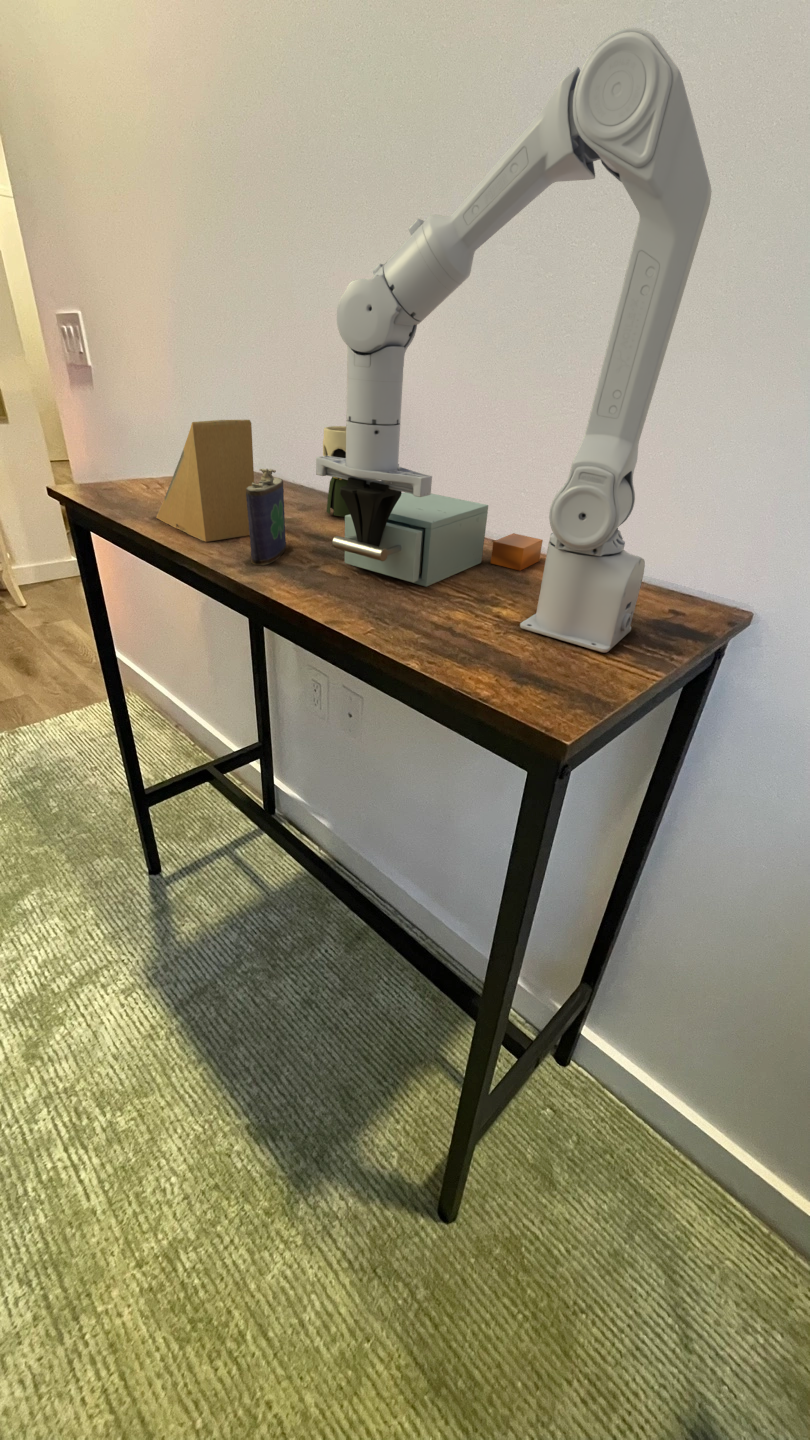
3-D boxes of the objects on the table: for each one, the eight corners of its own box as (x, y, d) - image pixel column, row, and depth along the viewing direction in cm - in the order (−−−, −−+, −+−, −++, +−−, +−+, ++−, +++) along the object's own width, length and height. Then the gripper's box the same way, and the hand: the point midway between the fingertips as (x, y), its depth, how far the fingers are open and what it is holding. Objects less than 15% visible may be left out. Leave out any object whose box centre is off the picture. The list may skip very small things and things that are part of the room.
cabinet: (426, 587, 76) (431, 522, 72) (351, 565, 81) (352, 504, 77) (481, 562, 85) (488, 504, 82) (411, 545, 91) (414, 489, 87)
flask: (271, 544, 87) (267, 461, 81) (291, 546, 87) (289, 463, 81) (247, 564, 79) (241, 473, 73) (269, 566, 79) (265, 476, 73)
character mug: (307, 511, 104) (306, 425, 97) (340, 506, 109) (340, 423, 102) (352, 526, 98) (353, 434, 91) (384, 519, 102) (388, 432, 96)
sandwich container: (206, 511, 100) (196, 406, 93) (259, 533, 91) (252, 419, 83) (154, 517, 95) (138, 407, 87) (204, 542, 86) (191, 421, 78)
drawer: (391, 591, 71) (394, 539, 68) (321, 570, 76) (320, 521, 73) (466, 560, 83) (471, 515, 80) (401, 543, 88) (404, 500, 85)
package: (539, 561, 88) (543, 539, 86) (520, 570, 83) (523, 548, 82) (510, 554, 90) (513, 533, 88) (490, 563, 86) (493, 541, 84)
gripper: (451, 428, 66) (439, 556, 73) (344, 412, 73) (343, 531, 80) (413, 432, 61) (404, 570, 68) (302, 414, 68) (304, 541, 75)
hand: (368, 550), depth 74 cm, fingers closed, pressing on drawer
